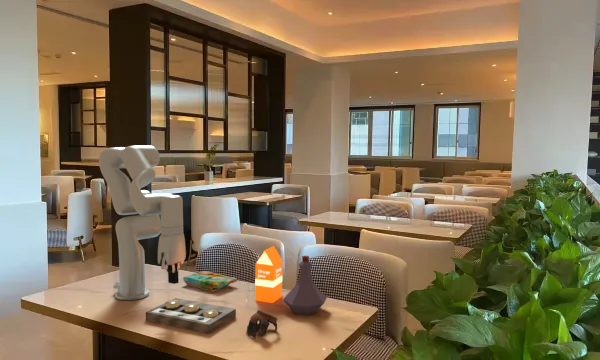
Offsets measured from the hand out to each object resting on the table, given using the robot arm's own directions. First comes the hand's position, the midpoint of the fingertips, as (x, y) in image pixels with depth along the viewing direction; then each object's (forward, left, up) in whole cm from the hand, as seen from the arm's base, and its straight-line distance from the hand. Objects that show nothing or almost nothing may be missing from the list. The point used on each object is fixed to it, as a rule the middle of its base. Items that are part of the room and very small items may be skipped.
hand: (173, 282), depth 164 cm
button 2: (+15, 0, -10) cm, 19 cm away
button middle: (+7, 0, -9) cm, 12 cm away
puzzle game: (-8, +34, -12) cm, 37 cm away
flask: (+39, +25, -12) cm, 48 cm away
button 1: (-1, 0, -10) cm, 9 cm away
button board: (+7, 0, -12) cm, 14 cm away
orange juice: (+21, +31, -12) cm, 40 cm away
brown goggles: (+35, 0, -12) cm, 37 cm away
